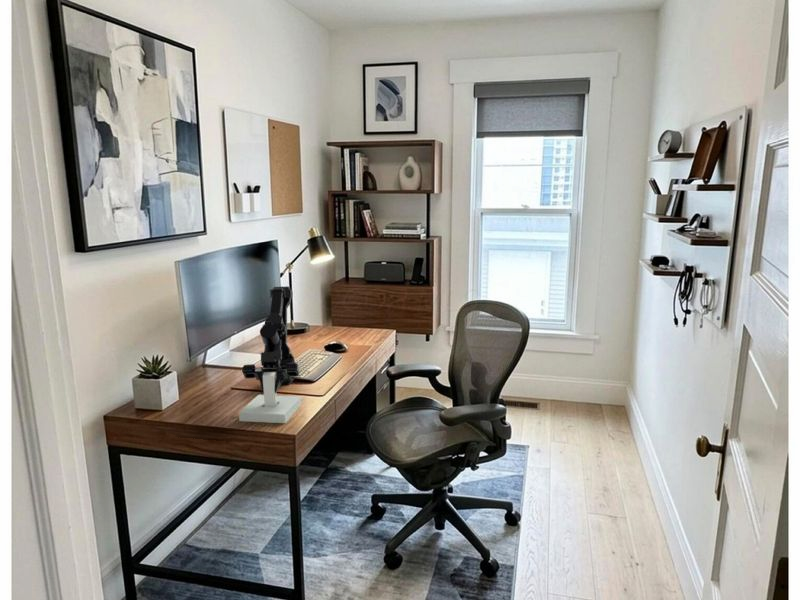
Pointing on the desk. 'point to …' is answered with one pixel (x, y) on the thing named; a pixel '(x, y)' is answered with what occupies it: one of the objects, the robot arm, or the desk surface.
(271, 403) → the plug
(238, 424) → the desk surface
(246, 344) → the desk surface
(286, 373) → the robot arm
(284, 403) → the socket
